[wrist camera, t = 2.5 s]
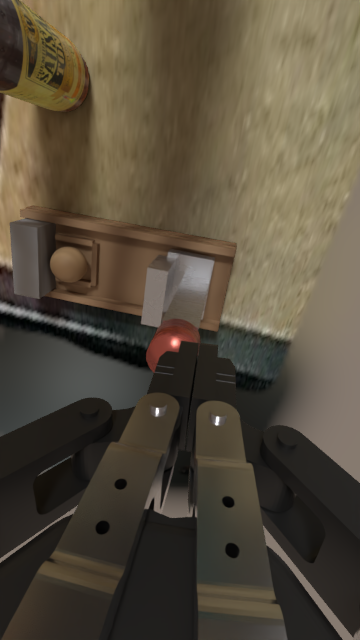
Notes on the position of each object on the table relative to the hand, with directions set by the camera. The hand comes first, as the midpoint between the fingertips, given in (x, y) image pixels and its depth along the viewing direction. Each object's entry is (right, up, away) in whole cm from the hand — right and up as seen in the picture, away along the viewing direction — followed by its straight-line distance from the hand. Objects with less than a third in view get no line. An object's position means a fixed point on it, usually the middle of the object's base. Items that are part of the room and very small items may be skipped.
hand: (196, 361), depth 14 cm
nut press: (-7, +8, +27) cm, 29 cm away
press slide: (0, +6, +25) cm, 26 cm away
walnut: (-13, +9, +26) cm, 31 cm away
